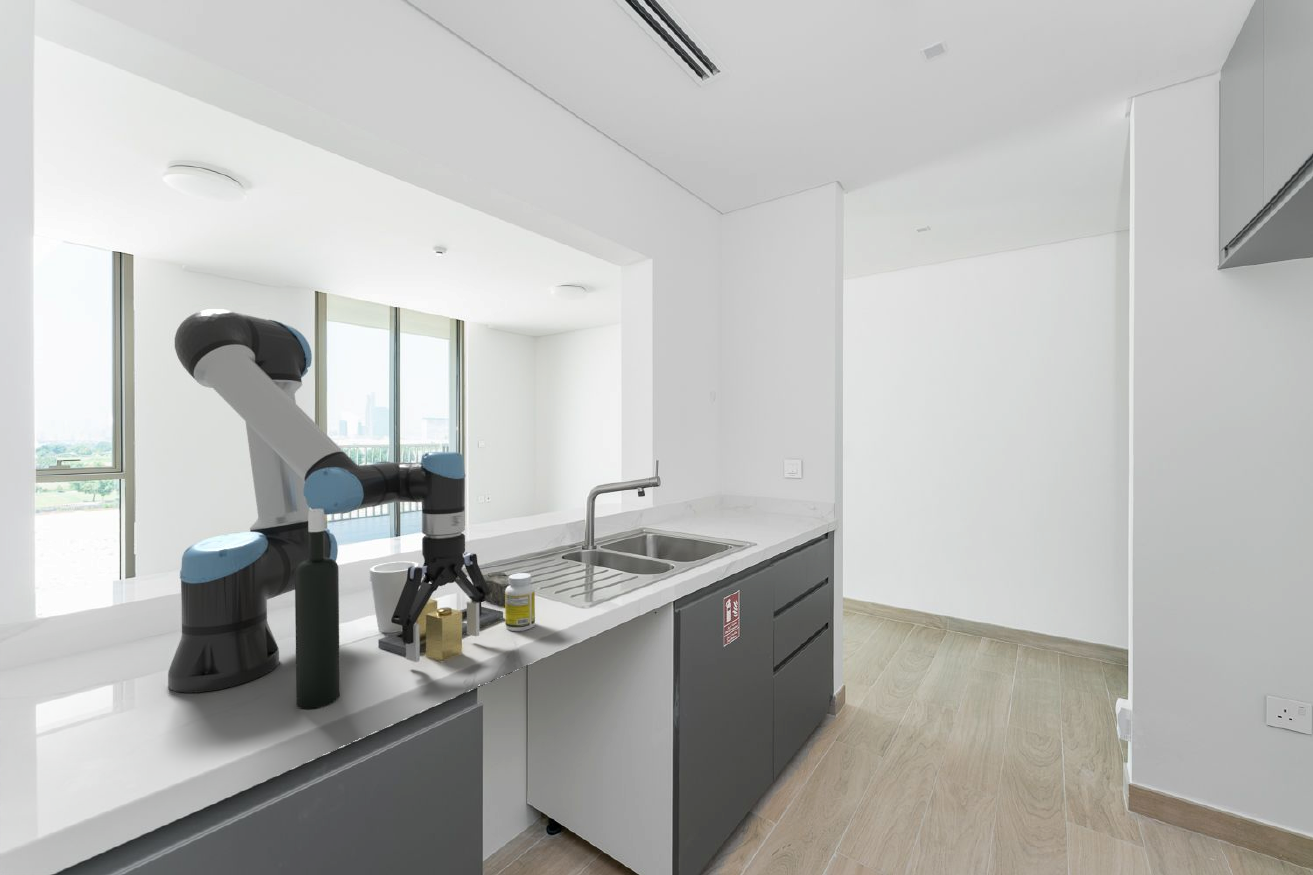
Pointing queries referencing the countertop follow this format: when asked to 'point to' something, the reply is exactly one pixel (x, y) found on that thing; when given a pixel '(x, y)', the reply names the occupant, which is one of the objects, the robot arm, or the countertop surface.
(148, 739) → the countertop surface
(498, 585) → the stone
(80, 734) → the countertop surface
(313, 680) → the wine bottle
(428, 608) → the brass block with knob
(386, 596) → the foam cup
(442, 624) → the brass knobbed block
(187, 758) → the countertop surface
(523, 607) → the pill bottle
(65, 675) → the countertop surface
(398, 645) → the dark grey slotted tray
